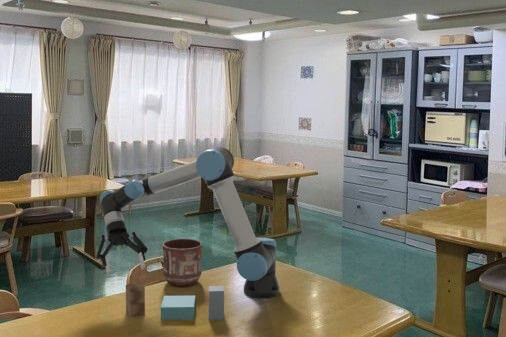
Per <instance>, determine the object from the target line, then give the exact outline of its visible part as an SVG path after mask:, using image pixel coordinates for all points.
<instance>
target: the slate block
mask: <svg viewBox="0 0 506 337" xmlns="http://www.w3.org/2000/svg"><path fill="white" fill-rule="evenodd" d="M224 320H225V287H224V285H209V286H208V321H224Z"/></svg>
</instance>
